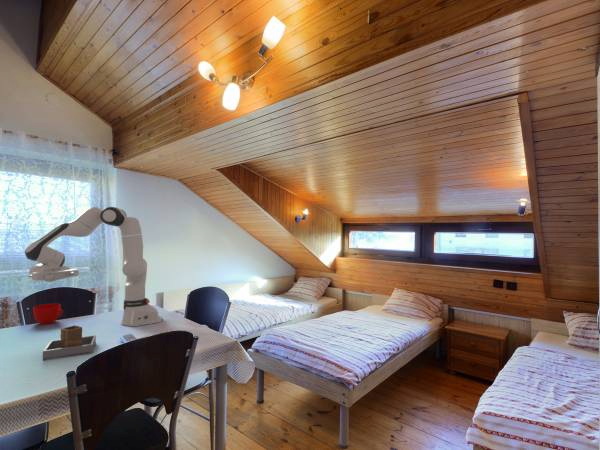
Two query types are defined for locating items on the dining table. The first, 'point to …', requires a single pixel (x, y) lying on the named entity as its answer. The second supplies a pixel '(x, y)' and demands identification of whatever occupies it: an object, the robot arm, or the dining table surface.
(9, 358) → the dining table surface
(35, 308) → the ceramic cup
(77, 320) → the dining table surface
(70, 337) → the walnut crate
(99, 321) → the dining table surface
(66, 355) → the grey crate
